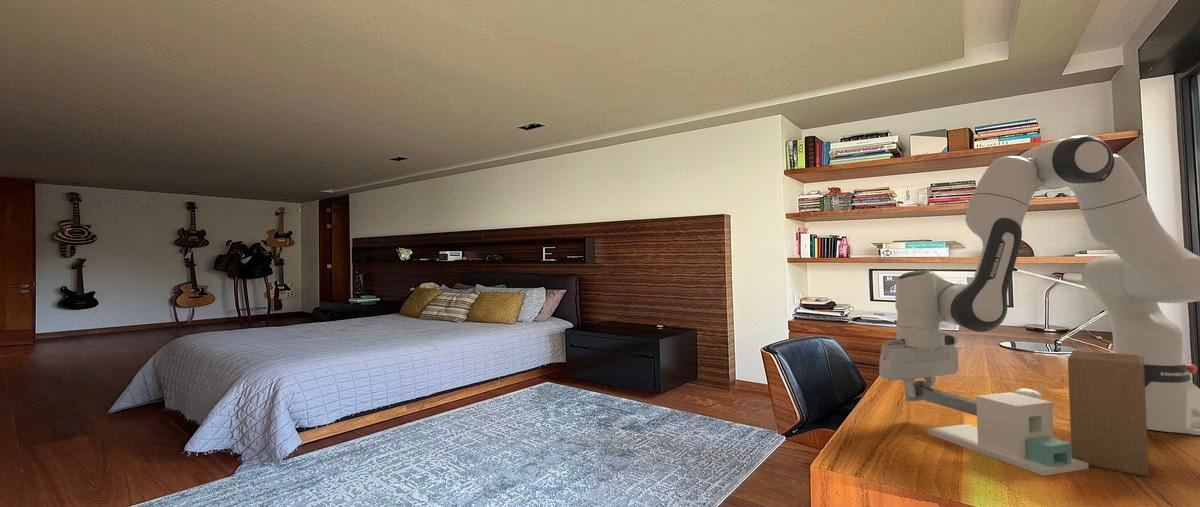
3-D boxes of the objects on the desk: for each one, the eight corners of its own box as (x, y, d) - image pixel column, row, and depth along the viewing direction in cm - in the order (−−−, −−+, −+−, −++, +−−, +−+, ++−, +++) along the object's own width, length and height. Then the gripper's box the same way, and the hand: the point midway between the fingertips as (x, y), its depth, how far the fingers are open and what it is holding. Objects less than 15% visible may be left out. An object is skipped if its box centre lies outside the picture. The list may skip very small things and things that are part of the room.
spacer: (1048, 455, 99) (1047, 436, 99) (1071, 463, 95) (1070, 443, 95) (1027, 458, 97) (1026, 439, 97) (1050, 466, 94) (1049, 446, 94)
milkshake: (1051, 433, 114) (1049, 388, 114) (1023, 432, 115) (1022, 387, 115) (1038, 426, 118) (1037, 383, 118) (1011, 425, 119) (1010, 382, 119)
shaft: (921, 398, 126) (920, 379, 126) (1028, 430, 102) (1027, 407, 102) (905, 400, 125) (904, 381, 125) (1010, 432, 101) (1009, 409, 101)
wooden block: (1147, 461, 97) (1143, 355, 98) (1148, 477, 90) (1144, 363, 91) (1075, 448, 104) (1071, 350, 105) (1071, 462, 98) (1067, 357, 98)
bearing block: (966, 428, 118) (964, 380, 118) (1088, 468, 95) (1086, 408, 95) (927, 433, 115) (925, 384, 116) (1043, 475, 92) (1040, 414, 92)
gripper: (892, 342, 118) (894, 403, 118) (962, 337, 123) (965, 395, 123) (871, 338, 124) (873, 396, 124) (939, 333, 130) (941, 389, 129)
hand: (919, 395), depth 124 cm, fingers closed on shaft, 2 cm apart
